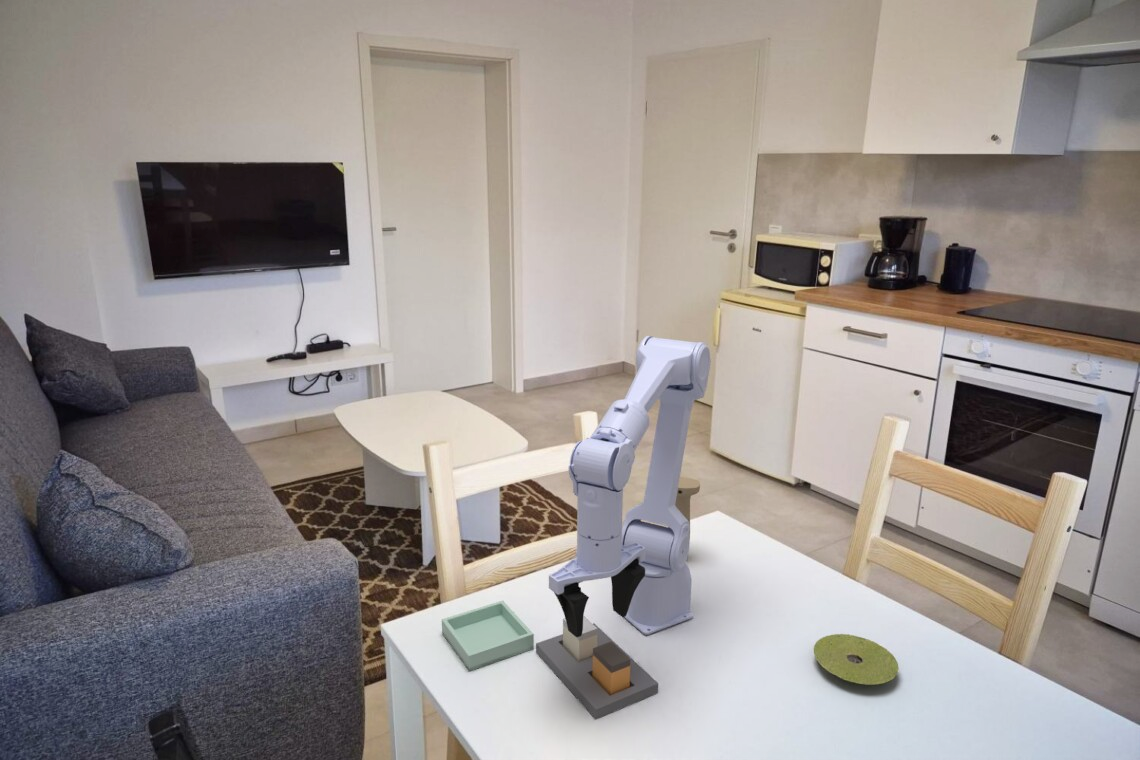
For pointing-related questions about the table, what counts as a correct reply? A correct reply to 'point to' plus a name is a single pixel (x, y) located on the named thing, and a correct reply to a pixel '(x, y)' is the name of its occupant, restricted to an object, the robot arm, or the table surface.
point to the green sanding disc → (855, 659)
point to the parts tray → (487, 635)
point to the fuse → (580, 641)
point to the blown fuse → (611, 668)
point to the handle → (686, 495)
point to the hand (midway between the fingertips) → (597, 622)
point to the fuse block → (585, 686)
